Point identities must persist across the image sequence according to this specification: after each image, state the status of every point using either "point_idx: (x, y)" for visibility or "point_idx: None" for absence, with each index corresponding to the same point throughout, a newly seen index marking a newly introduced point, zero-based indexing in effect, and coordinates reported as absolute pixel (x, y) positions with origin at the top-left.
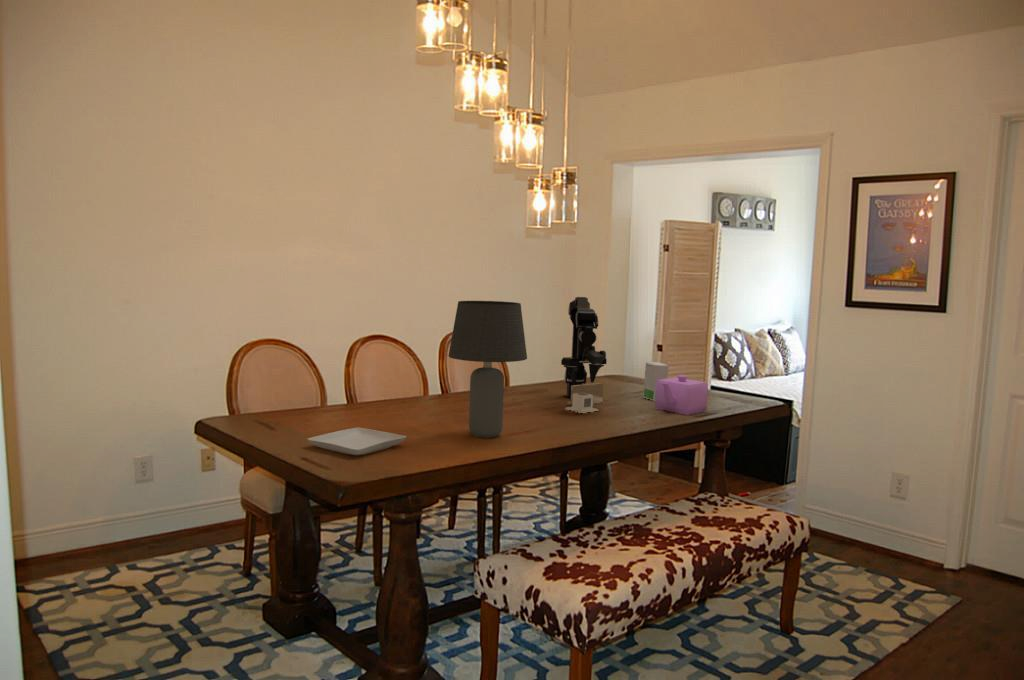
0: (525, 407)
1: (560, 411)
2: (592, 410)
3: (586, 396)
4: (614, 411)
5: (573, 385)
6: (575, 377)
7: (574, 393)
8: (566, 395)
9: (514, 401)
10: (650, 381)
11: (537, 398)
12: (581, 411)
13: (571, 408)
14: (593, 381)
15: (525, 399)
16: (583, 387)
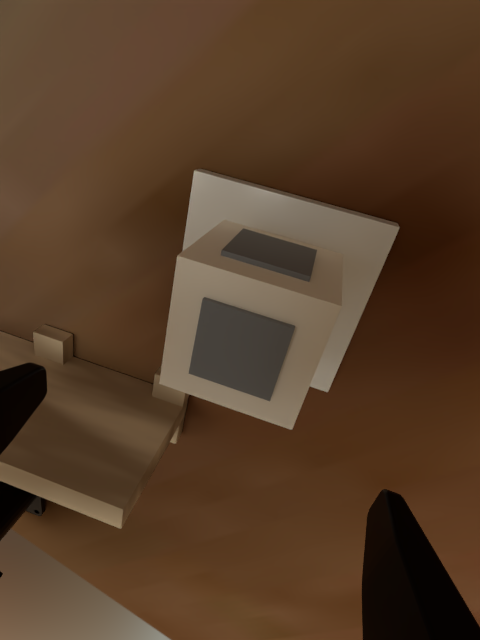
0: (442, 563)
1: (419, 381)
2: (266, 189)
3: (276, 282)
4: (84, 71)
5: (102, 518)
6: (449, 614)
7: (143, 454)
8: (33, 506)
9: (324, 624)
10: None
11: (177, 573)
12: (393, 228)
13: (329, 348)
14: (24, 367)
15: (241, 601)
16: (32, 453)
